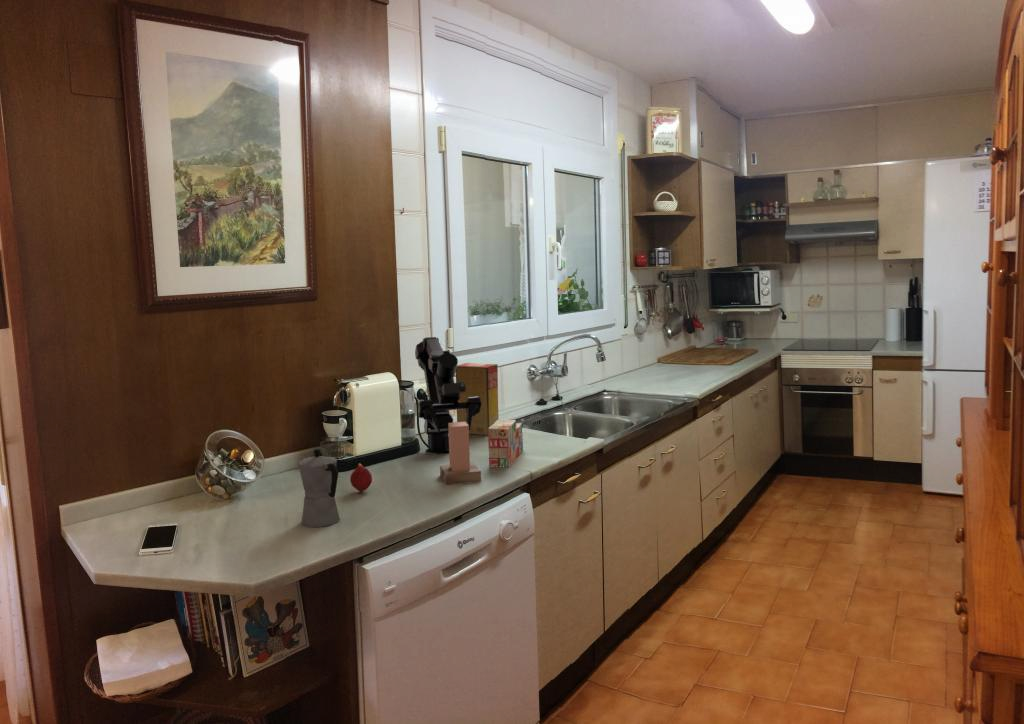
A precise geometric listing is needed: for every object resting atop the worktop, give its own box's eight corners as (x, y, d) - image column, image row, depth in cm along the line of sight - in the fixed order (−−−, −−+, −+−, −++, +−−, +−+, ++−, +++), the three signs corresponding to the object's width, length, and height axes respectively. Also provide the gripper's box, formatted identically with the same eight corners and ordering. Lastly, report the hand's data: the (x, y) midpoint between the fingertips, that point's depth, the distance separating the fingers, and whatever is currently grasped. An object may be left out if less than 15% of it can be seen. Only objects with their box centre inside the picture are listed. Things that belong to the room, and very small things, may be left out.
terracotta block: (449, 466, 219) (448, 422, 217) (466, 464, 220) (465, 421, 218) (452, 471, 214) (451, 427, 212) (470, 469, 215) (468, 425, 213)
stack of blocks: (504, 450, 250) (503, 413, 249) (523, 450, 249) (522, 414, 247) (488, 467, 230) (487, 427, 228) (509, 468, 228) (508, 428, 227)
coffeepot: (290, 519, 185) (285, 448, 183) (324, 510, 192) (320, 441, 189) (321, 535, 174) (317, 459, 172) (357, 524, 181) (353, 451, 178)
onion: (376, 490, 208) (375, 462, 207) (364, 496, 203) (362, 467, 202) (359, 488, 210) (357, 460, 209) (346, 493, 205) (345, 465, 204)
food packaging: (500, 430, 279) (498, 363, 275) (489, 436, 270) (487, 367, 267) (468, 428, 284) (466, 362, 281) (456, 433, 276) (454, 365, 272)
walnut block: (440, 477, 221) (439, 465, 221) (473, 473, 224) (473, 462, 224) (446, 486, 212) (446, 474, 211) (481, 483, 214) (480, 471, 214)
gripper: (417, 374, 223) (425, 418, 214) (479, 370, 228) (489, 413, 219) (414, 395, 231) (422, 438, 222) (474, 391, 236) (483, 433, 227)
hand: (454, 430), depth 222 cm, fingers open, 9 cm apart
